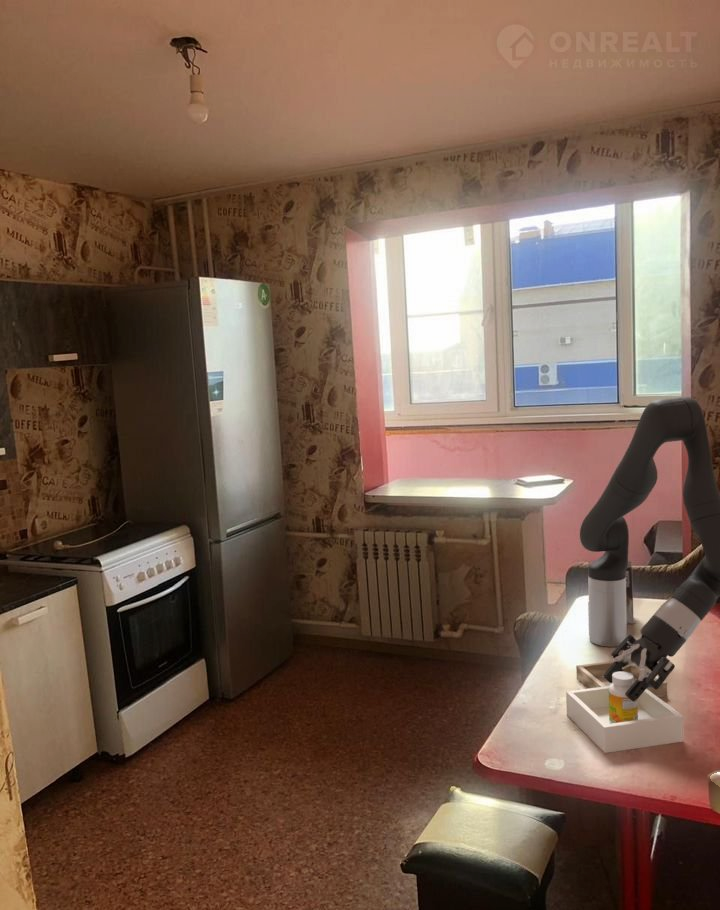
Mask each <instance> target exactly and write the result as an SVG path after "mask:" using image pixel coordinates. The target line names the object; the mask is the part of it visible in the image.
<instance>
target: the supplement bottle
mask: <svg viewBox="0 0 720 910" xmlns="http://www.w3.org/2000/svg"><path fill="white" fill-rule="evenodd" d="M634 680H635V679H634V675H633V674H632V673H628V672H622V671H619V672H614V673H613V674H612V682H613V683H610V685H608V686H609V721H610V722H611V723H619V722H626V721H633V720H638V699H636V700H635V701H632V700H630V699H629V698H628V697H627V696H626V695H625V693H626V692H627V690H628V689H629V688H630V687H631V686H632V684H633V683H634V682H635V681H634Z"/></svg>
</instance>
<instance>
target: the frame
mask: <svg viewBox="0 0 720 910" xmlns="http://www.w3.org/2000/svg"><path fill="white" fill-rule="evenodd" d="M625 661H626V660H624V662H625ZM613 663H614V660H611V661H610V660H609V661H603V662H602V661H601V662H595V663H586V664H579V665H576V666H575V668H576V680H578V681H579V682H580V681H581V682H580V683H582V684H583V685H584V686H585V687H586V689H589V688H597V687H604V686H606V685H605V684H604V683H603V682H601V680H599V679H598V678H604V674H605V672H606V671H607V670H608V669H609V668H610V666H611V665H612V664H613ZM622 672H628V673H631V674H632V675H633V677H634V676H635V678H637V680H639V674H640V670H639V667H638V666H637V665H636V666H629V667H626V668H624V669H623V671H622ZM646 677H647V676H646ZM658 678H659V676H658V675H657V676H656V677H655V679H654V680H655V681H656V680H657V679H658ZM647 690H649V691H650V692H651V693H653V694H654V695H655V696H657V697H658V698H663V697H668V682H667V681H666V680H665V681H664V682H663V683H662V684H661V686H660V687H659V688H658V689H656V690H655V689H654V688H652V687H650V688H647Z"/></svg>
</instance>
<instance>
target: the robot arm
mask: <svg viewBox="0 0 720 910" xmlns="http://www.w3.org/2000/svg"><path fill="white" fill-rule="evenodd" d="M679 441H682V442H683V445H684V446H685V450H686V453H687V457H688V460H687V461H688V463H687V469H686V470H687V471H686V475H685V478H684V479H685V480H684V483H683V488H682V489H683V490H682V498H683V505H684V508H685V512H686V514H687V516H688V520H689V523H690V526H691V529H692V531H693V532H694V534H695V535H696V536H697V537H698V538H699V541H700V543H701V547H702V549H703V553H704V556H703V558H702V559H701V560H700V562H699V563H698V564H697V566H696V567H695V568H694V570H693V571H692V572H691V574H690V575H689V577H688V578H687V579H686V580H684V581H683V582H682V583H681V584H680V585H679V586H678V587H677V589H676V590H675V591H674V592H673V593H672V594H671V595H670V597H669V598H668V599H667V600H666V601H665V602H663V604H661V605H660V607H658V609H657V610H656V611H655V613H653V615H652V616H651V617H650V618H649V620H648V621H647V622H646V623H645V624H644V625H643V627H641V629H640V634H641V637H639V639H637V638H635V636H634V635H633V634H628V635H627V633H628V631H627V628H628V627H627V625H628V623H627V618H626V569H627V566H628V562H629V540H630V535H629V533H630V532H629V527H628V523H627V521H626V519H625V518H624V516H626V515H628V514H629V513H630V512H632V511H634V510H635V509H637V508H638V507H640V506H641V505H642V504H643V503H644V502H645V501H646V500H647V498H648V497H649V495H651V492H653V489H654V487H655V486H656V484H657V480H658V469H657V465H656V462H655V460H654V457H655V455H656V453H657V451H658V450H659V448H660V447H661V446H662V445H664V444H666V443H671V442H679ZM711 452H712V451H711V447H710V440H709V436H708V429H707V425H706V419H705V416H704V412H703V410H702V408H701V405H700V404H699V402H698V401H697V400H696V399H694V398H693V397H689V396H680V397H670V398H658V399H655V400H653V401H651V402H649V403H648V404H647V405H646V406H645V408H644V410H643V412H642V413H641V416H640V418H639V420H638V423H637V426H636V428H635V430H634V434H633V436H632V437H631V440H630V443H629V445H628V447H627V449H626V450H625V453H624V454H623V456H622V459H621V460H620V462H619V464H618V465H617V467H616V468H615V470H614V472H613V474H612V475H611V478H609V479H610V480H609V482H608V483H607V486H606V487H605V489H604V490H603V492H602V494H601V495H600V497H599V498H598V500H597V501H596V503H595V504H594V506H593V507H592V508H591V509H590V511H589V512H588V513H587V514H586V516H585V517H584V518H583V520H582V523H581V525H580V529H579V541H580V543H581V545H582V547H583V548H584V549H586V550H587V551H589V552H593V553H599V552H604V553H603V555H601V556H600V557H599V558H598V559H596V560H595V561H594V560H593V562H590V563H589V565H588V567H587V577H588V578H587V579H588V582H587V583H588V584H587V585H588V586H587V587H588V601H587V602H588V603H587V607H588V609H587V610H588V611H587V612H588V615H587V616H588V636H589V641H590V642H591V643H592V644H595V645H596V646H597V645H598V646H601V647H614V648H615V647H616V648H615V649H614V650H613V651H612V652H611V653H610V654H611V655H610V656H611V657H612V658H613V661H614V663H613V664H612V665H611V666H610V668H609V669H608V670H607V671H606V672H605V674H604V677H603V678H604V679H605V680H606V681H608V683H610V684H612V683H613V682H612V674H613V673H614V672H619V671H623V669H624V668H626V667H629V666H636V665H637V666H638V667H639V670H640V674H639V679H636V680H635V681H634V683H633V684H632V686H631V687H630V688H629V689H628V690H627V692H626V693H625V695H626V696H627V697H628V698H629V699H630V700H632V701H635V700H636V699H638V698H639V697H640V696H641V694H642V693H643V692H644V691H645V690H646V689H647V688H650V687H652V688H654V689H655V690H656V689H658V688H659V687H660V686H661V684H662V683H663V682H664V681H665V682H666V679H667V678H668V677H669V676H670V675H671V673H672V671H673V670H674V669H675V667H676V665H675V664H674V663H673V662H672V661H671V660H670V659H669V658H668V657H671V658H672V657H674V656H675V655H676V654H677V652H679V650H680V649H681V648H682V647H683V645H684V644H685V643H686V642H687V641H688V640H689V638H690V637H691V636H692V635H693V634H694V633H695V631H696V630H697V628H698V627H699V625H700V624H701V622H702V621H703V620H704V619H705V617H706V616H707V615H708V614H709V612H711V610H712V609H713V607H714V606H715V604H716V603H717V600H718V598H719V597H720V490H719V488H718V487H719V486H718V484H717V483H718V482H717V479H716V476H715V471H714V465H713V459H712V453H711ZM621 652H622V654H620V653H621ZM624 660H626V661H625V662H624ZM646 676H647V677H646ZM656 676H658V677H659V678H658V679H657V680H656V681H655V680H654V679H655V677H656Z"/></svg>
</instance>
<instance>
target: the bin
mask: <svg viewBox="0 0 720 910" xmlns="http://www.w3.org/2000/svg"><path fill="white" fill-rule="evenodd" d="M609 686H610V685H605V686H604V687H597V688H584V689H576V690H568V691H566V692H565V694H566V695H565V701H566V704H565V705H566V716H567V717H568V718H569V719H570V720H571V721H573V723H575V725H577V727H578V728H580V730H582V732H583V733H584V734H585V735H586V736H588V738H589V739H590V740H591V741H592V742H593V743H595V745H596V746H597V747H598V748H599V749H600V750H601V751H602V752H603V753H604V754H607V753H615V752H619V751H628V750H633V749H641V748H648V747H649V748H650V747H656V746H662V745H668V744H676V743H682V742H684V715H682V714H681V713H680V712H678V711H677V710H675V709H674V708H673V707H672V706H670V705H669V704H668V703H666V702H665V701H664V700H662V699H661V698H660V697H657V696H655V695H654V694H653V693H651V692H650V691H649V690H647V689H646V690H645V691H644V692H643V693H642V694H641V696H640V697H639V698H638V720H633V721H626V722H619V723H611V722H610V721H609Z"/></svg>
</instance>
